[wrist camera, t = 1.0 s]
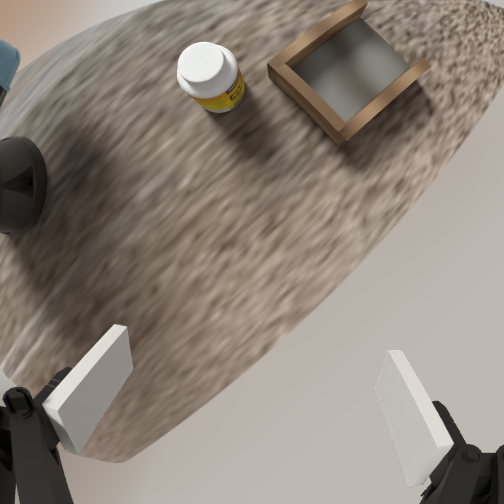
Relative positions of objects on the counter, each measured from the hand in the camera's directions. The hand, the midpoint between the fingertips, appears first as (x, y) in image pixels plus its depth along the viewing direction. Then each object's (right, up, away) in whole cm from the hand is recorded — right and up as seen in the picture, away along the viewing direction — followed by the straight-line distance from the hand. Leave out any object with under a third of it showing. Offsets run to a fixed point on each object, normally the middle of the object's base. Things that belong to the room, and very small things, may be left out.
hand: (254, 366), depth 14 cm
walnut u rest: (+11, +26, +15) cm, 32 cm away
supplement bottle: (-4, +24, +17) cm, 29 cm away
